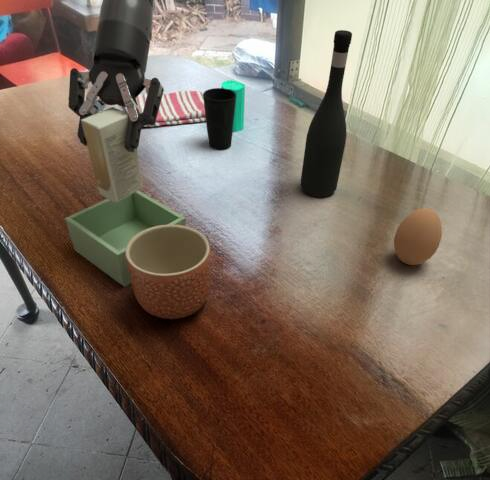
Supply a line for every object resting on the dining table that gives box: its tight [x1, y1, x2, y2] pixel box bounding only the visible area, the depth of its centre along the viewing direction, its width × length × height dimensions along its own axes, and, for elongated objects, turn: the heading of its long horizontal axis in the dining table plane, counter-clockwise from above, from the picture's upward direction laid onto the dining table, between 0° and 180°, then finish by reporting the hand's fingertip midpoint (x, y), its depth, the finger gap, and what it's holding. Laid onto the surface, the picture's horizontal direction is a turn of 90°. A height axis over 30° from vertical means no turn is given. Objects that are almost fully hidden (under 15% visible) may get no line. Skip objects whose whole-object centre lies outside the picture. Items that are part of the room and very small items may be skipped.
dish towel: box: [124, 90, 206, 128], centre depth 124 cm, size 17×23×4 cm
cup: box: [202, 87, 236, 151], centre depth 109 cm, size 8×8×12 cm
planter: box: [125, 225, 212, 320], centre depth 70 cm, size 12×12×11 cm
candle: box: [221, 77, 246, 133], centre depth 116 cm, size 6×6×12 cm
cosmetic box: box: [81, 106, 144, 203], centre depth 70 cm, size 6×4×12 cm
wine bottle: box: [300, 29, 353, 198], centre depth 89 cm, size 8×8×30 cm
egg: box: [393, 207, 443, 266], centre depth 79 cm, size 8×8×11 cm
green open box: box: [64, 190, 187, 288], centre depth 81 cm, size 15×15×7 cm
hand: (107, 147), depth 67 cm, fingers closed on cosmetic box, 6 cm apart
